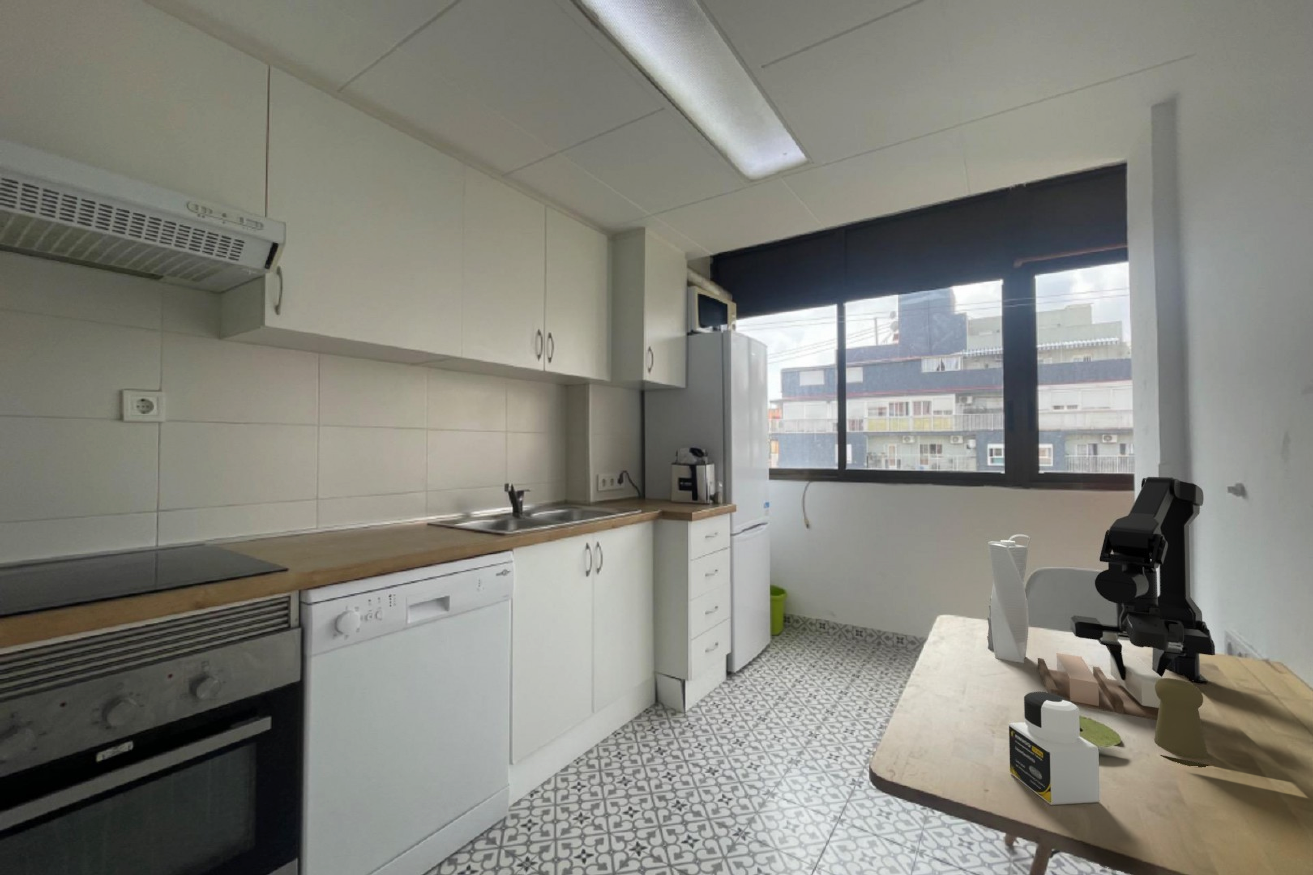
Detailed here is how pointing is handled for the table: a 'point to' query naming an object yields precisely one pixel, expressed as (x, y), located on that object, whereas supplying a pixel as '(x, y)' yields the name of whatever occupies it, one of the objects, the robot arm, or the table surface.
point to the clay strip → (1138, 680)
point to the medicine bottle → (1054, 751)
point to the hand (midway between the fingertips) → (1138, 681)
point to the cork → (1180, 721)
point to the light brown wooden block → (1077, 679)
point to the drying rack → (1100, 693)
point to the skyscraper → (1008, 600)
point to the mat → (1097, 733)
